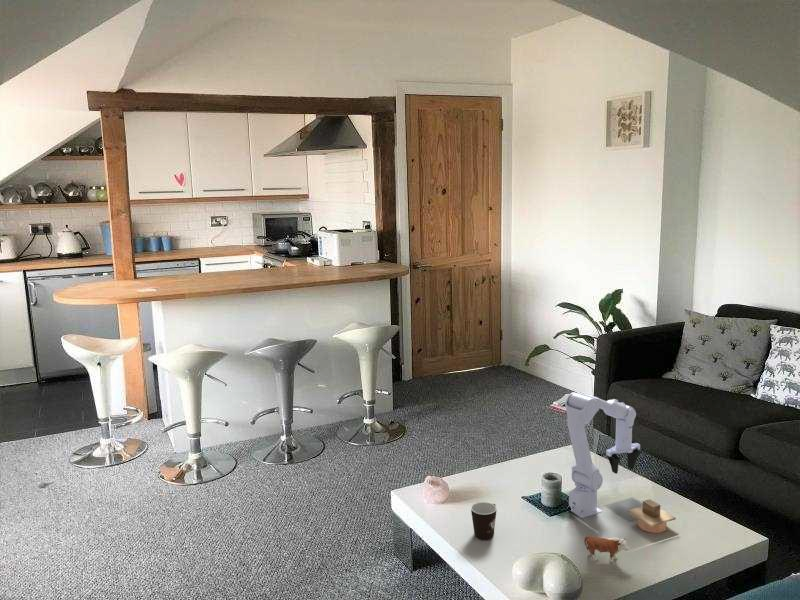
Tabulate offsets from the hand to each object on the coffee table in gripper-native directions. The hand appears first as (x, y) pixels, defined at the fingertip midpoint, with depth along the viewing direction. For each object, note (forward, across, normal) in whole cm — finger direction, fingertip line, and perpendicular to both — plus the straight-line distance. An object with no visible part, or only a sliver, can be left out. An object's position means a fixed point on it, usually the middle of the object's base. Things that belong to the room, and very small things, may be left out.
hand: (622, 470), depth 252 cm
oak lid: (+6, -8, -23) cm, 25 cm away
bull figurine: (+10, -35, -32) cm, 48 cm away
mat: (+9, -6, -11) cm, 16 cm away
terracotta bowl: (+10, -8, -24) cm, 27 cm away
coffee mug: (+10, -60, -2) cm, 61 cm away
